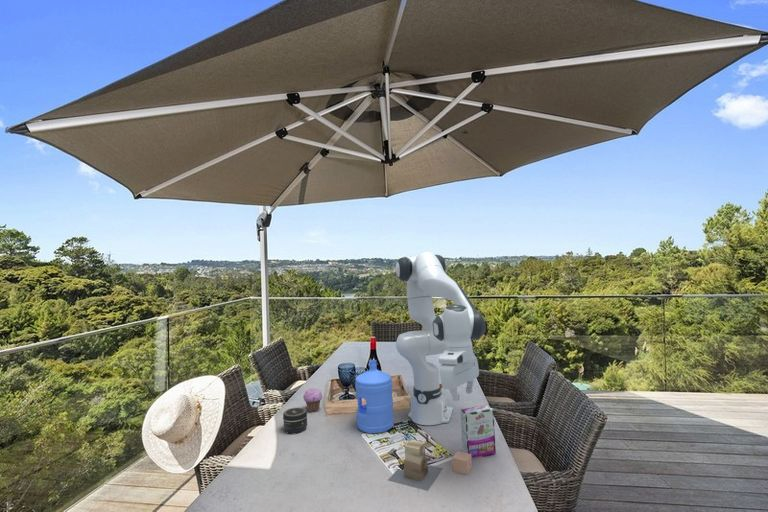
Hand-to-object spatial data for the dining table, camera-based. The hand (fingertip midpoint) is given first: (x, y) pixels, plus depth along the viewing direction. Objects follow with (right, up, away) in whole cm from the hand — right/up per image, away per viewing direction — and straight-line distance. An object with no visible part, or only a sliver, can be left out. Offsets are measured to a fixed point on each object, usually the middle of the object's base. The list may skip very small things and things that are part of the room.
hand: (462, 396), depth 137 cm
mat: (-15, -26, 0) cm, 30 cm away
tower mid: (-16, -21, 0) cm, 26 cm away
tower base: (-15, -26, 0) cm, 30 cm away
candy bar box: (+8, -25, +13) cm, 29 cm away
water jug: (-30, -26, +40) cm, 56 cm away
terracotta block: (0, -26, +2) cm, 26 cm away
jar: (-64, -28, +40) cm, 80 cm away
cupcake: (-60, -27, +60) cm, 89 cm away
